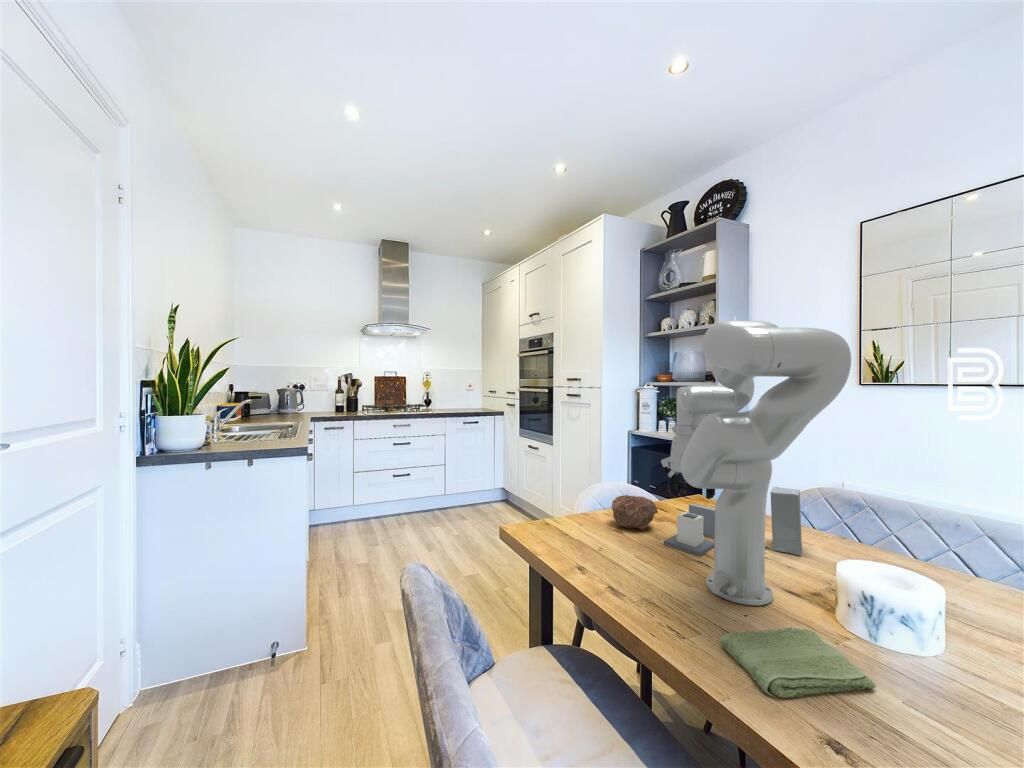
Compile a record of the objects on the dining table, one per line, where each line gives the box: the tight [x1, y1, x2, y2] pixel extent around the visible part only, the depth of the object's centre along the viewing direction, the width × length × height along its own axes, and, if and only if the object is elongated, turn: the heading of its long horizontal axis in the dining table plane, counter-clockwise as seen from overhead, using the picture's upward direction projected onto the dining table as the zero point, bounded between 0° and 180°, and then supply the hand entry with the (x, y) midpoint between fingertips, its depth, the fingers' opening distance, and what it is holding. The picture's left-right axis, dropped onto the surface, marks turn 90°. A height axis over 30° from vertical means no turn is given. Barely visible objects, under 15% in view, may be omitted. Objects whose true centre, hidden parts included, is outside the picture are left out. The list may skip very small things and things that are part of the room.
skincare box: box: [770, 486, 803, 557], centre depth 111 cm, size 8×7×16 cm
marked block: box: [676, 511, 704, 547], centre depth 112 cm, size 5×5×7 cm
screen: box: [688, 503, 715, 540], centre depth 118 cm, size 2×13×8 cm, turn 42°
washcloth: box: [719, 627, 877, 699], centre depth 65 cm, size 13×18×3 cm
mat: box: [663, 533, 715, 557], centre depth 112 cm, size 10×10×1 cm
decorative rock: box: [611, 494, 659, 531], centre depth 126 cm, size 13×11×10 cm
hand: (691, 494), depth 111 cm, fingers open, 9 cm apart
